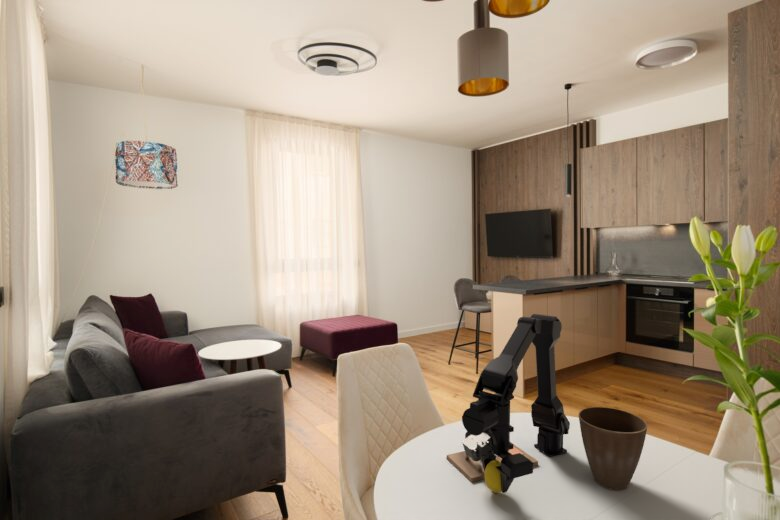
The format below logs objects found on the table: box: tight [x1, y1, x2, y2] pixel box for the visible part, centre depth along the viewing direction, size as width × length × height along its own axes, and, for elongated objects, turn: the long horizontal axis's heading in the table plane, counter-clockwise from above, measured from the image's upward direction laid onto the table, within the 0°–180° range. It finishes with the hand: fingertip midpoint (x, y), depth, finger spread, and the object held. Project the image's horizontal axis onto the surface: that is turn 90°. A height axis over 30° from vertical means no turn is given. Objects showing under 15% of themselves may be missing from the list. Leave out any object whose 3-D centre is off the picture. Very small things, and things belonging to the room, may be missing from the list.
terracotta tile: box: [498, 447, 524, 460], centre depth 117 cm, size 8×8×1 cm
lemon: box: [484, 460, 503, 494], centre depth 99 cm, size 6×6×8 cm
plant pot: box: [578, 406, 648, 491], centre depth 104 cm, size 15×15×16 cm
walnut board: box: [446, 442, 539, 483], centre depth 113 cm, size 21×12×1 cm, turn 113°
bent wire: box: [465, 453, 483, 472], centre depth 111 cm, size 8×8×5 cm
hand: (496, 485), depth 99 cm, fingers closed on lemon, 5 cm apart
